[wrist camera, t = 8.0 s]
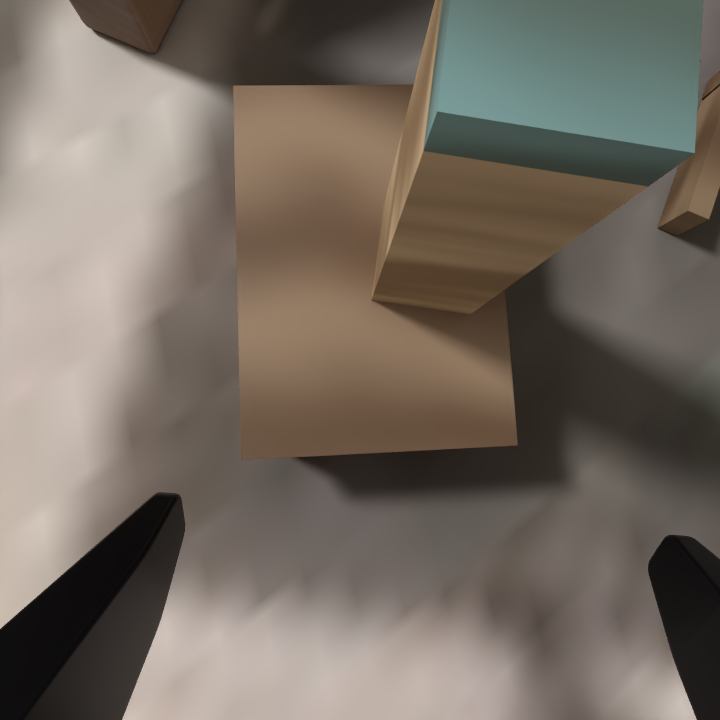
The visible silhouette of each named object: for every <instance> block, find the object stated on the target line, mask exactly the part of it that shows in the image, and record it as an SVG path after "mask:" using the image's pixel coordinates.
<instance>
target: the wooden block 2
mask: <svg viewBox="0 0 720 720" xmlns="http://www.w3.org/2000/svg"><path fill="white" fill-rule="evenodd" d="M69 1H70V2H71V4H72V5H73V7H74V9H75V10H76V12H77V13H78V15H79V16H80V18H81V20H82V21H83V23H84V24H85V25H86V26H88V27H89V28H91V29H93V30H96V31H98V32H101V33H103V34H106V35H108V36H110V37H113V38H115V39H118V40H120V41H122V42H125V43H127V44H130V45H132V46H135V47H137V48H139V49H142V50H144V51H147V52H149V53H155V52H156V51H157V49H158V47H159V45H160V43H161V41H162V39H163V37H164V35H165V33H166V31H167V29H168V27H169V25H170V23H171V21H172V19H173V17H174V15H175V13H176V11H177V9H178V7H179V5H180V3H181V1H182V0H69Z"/></svg>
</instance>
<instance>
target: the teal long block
mask: <svg viewBox="0 0 720 720" xmlns="http://www.w3.org/2000/svg"><path fill="white" fill-rule="evenodd" d="M702 14H703V0H435V2H434V6H433V10H432V14H431V18H430V22H429V26H428V30H427V34H426V38H425V42H424V46H423V50H422V54H421V58H420V62H419V66H418V70H417V74H416V78H415V82H414V86H413V90H412V94H411V98H410V102H409V106H408V110H407V114H406V118H405V122H404V126H403V130H402V134H401V138H400V142H399V146H398V150H397V154H396V158H395V162H394V166H393V170H392V174H391V178H390V182H389V186H388V190H387V194H386V198H385V202H384V207H383V215H382V222H381V230H380V237H379V245H378V252H377V260H376V267H375V275H374V283H373V290H372V298H371V300H373V301H380V302H387V303H394V304H401V305H408V306H415V307H421V308H428V309H435V310H442V311H449V312H456V313H463V314H471V313H473V312H474V311H476V310H477V309H478V308H480V307H481V306H483V305H484V304H485V303H487V302H488V301H490V300H491V299H492V298H494V297H495V296H496V295H498V294H499V293H501V292H502V291H503V290H505V289H506V288H508V287H509V286H510V285H512V284H513V283H515V282H516V281H517V280H519V279H520V278H522V277H523V276H524V275H526V274H527V273H528V272H530V271H531V270H533V269H534V268H535V267H537V266H538V265H540V264H541V263H542V262H544V261H545V260H547V259H548V258H549V257H551V256H552V255H554V254H555V253H556V252H558V251H559V250H561V249H562V248H563V247H565V246H566V245H567V244H569V243H570V242H572V241H573V240H574V239H576V238H577V237H579V236H580V235H581V234H583V233H584V232H586V231H587V230H588V229H590V228H591V227H593V226H594V225H595V224H597V223H598V222H599V221H601V220H602V219H604V218H605V217H606V216H608V215H609V214H611V213H612V212H613V211H615V210H616V209H618V208H619V207H620V206H622V205H623V204H625V203H626V202H627V201H629V200H630V199H631V198H633V197H634V196H636V195H637V194H638V193H640V192H641V191H643V190H644V189H645V188H647V187H648V186H650V185H651V184H652V183H654V182H655V181H657V180H658V179H659V178H661V177H662V176H663V175H665V174H666V173H668V172H669V171H670V170H672V169H673V168H675V167H676V166H677V165H679V164H680V163H682V162H683V161H684V160H686V159H687V158H689V157H690V156H691V155H693V154H694V153H695V140H696V122H697V104H698V86H699V68H700V50H701V32H702Z"/></svg>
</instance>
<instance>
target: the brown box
mask: <svg viewBox="0 0 720 720" xmlns="http://www.w3.org/2000/svg"><path fill="white" fill-rule="evenodd" d="M413 86H414V85H260V86H233V105H234V152H235V198H236V245H237V291H238V338H239V385H240V431H241V460H253V459H271V458H290V457H309V456H328V455H347V454H365V453H384V452H403V451H422V450H440V449H459V448H478V447H497V446H515V445H518V442H517V429H516V417H515V405H514V392H513V380H512V368H511V355H510V343H509V331H508V318H507V306H506V294H505V290H503V291H502V292H501V293H499V294H498V295H496V296H495V297H494V298H492V299H491V300H490V301H488V302H487V303H485V304H484V305H483V306H481V307H480V308H478V309H477V310H476V311H474V312H473V313H471V314H463V313H456V312H449V311H442V310H435V309H428V308H421V307H415V306H408V305H401V304H394V303H387V302H380V301H373V300H371V298H372V290H373V283H374V275H375V267H376V260H377V252H378V245H379V237H380V230H381V222H382V215H383V207H384V202H385V198H386V194H387V190H388V186H389V182H390V178H391V174H392V170H393V166H394V162H395V158H396V154H397V150H398V146H399V142H400V138H401V134H402V130H403V126H404V122H405V118H406V114H407V110H408V106H409V102H410V98H411V94H412V90H413Z"/></svg>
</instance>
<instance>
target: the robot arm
mask: <svg viewBox="0 0 720 720" xmlns="http://www.w3.org/2000/svg"><path fill="white" fill-rule="evenodd" d="M184 532H185V519H184V512H183V506H182V499H181V497H180V495H179V494H176V493H164V492H159V493H156V494H154V495H153V496H152V497H150V498H149V499H148V500H147V501H146V502H145V503H144V504H142V505H141V506H140V507H139V508H138V509H137V510H136V511H134V512H133V513H132V514H131V515H130V516H129V517H128V518H126V519H125V520H124V521H123V522H122V523H121V524H120V525H118V526H117V527H116V528H115V529H114V530H113V531H112V532H110V533H109V534H108V535H107V536H106V537H105V538H104V539H102V540H101V541H100V542H99V543H98V544H97V545H96V546H94V547H93V548H92V549H91V550H90V551H89V552H88V553H86V554H85V555H84V556H83V557H82V558H81V559H80V560H79V561H77V562H76V563H75V564H74V565H73V566H72V567H71V568H69V569H68V570H67V571H66V572H65V573H64V574H63V575H61V576H60V577H59V578H58V579H57V580H56V581H55V582H53V583H52V584H51V585H50V586H49V587H48V588H47V589H45V590H44V591H43V592H42V593H41V594H40V595H39V596H37V597H36V598H35V599H34V600H33V601H32V602H31V603H29V604H28V605H27V606H26V607H25V608H24V609H23V610H21V611H20V612H19V613H18V614H17V615H16V616H15V617H13V618H12V619H11V620H10V621H9V622H8V623H7V624H5V625H4V626H3V627H2V628H1V629H0V720H122V718H123V716H124V713H125V711H126V708H127V706H128V703H129V700H130V698H131V695H132V693H133V690H134V688H135V685H136V683H137V680H138V677H139V675H140V672H141V670H142V667H143V665H144V662H145V660H146V657H147V654H148V652H149V649H150V647H151V644H152V642H153V639H154V637H155V634H156V631H157V629H158V626H159V623H160V620H161V617H162V614H163V610H164V607H165V603H166V600H167V596H168V592H169V589H170V585H171V581H172V578H173V574H174V570H175V567H176V563H177V559H178V556H179V552H180V548H181V545H182V541H183V537H184ZM648 572H649V577H650V580H651V584H652V587H653V591H654V594H655V598H656V601H657V605H658V608H659V612H660V615H661V619H662V622H663V626H664V629H665V633H666V636H667V640H668V643H669V646H670V650H671V653H672V656H673V659H674V662H675V664H676V667H677V670H678V673H679V675H680V678H681V680H682V683H683V685H684V688H685V691H686V693H687V696H688V698H689V701H690V703H691V706H692V708H693V711H694V714H695V716H696V719H697V720H720V559H719V558H718V557H717V556H715V555H714V554H713V553H712V552H711V551H709V550H708V549H707V548H706V547H704V546H703V545H702V544H701V543H699V542H698V541H697V540H695V539H694V538H692V537H689V536H680V535H668V536H666V537H665V538H664V539H663V541H662V542H661V544H660V545H659V547H658V548H657V550H656V551H655V553H654V554H653V556H652V557H651V559H650V561H649V564H648Z"/></svg>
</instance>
